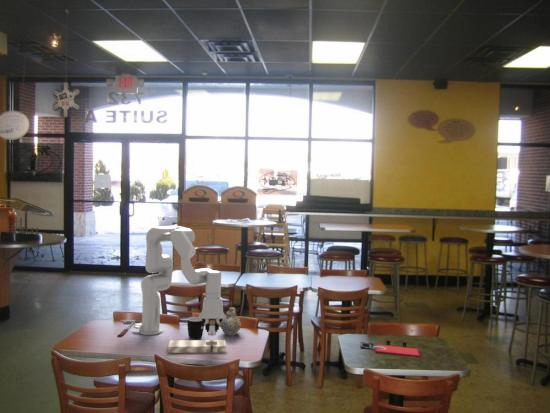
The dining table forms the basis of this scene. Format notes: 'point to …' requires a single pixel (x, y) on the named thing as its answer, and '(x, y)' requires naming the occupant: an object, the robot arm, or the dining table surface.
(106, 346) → the dining table surface
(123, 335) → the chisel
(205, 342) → the subfloor board
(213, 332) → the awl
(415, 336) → the dining table surface
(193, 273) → the robot arm
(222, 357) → the dining table surface
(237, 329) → the grey bulbous vase
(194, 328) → the mug
